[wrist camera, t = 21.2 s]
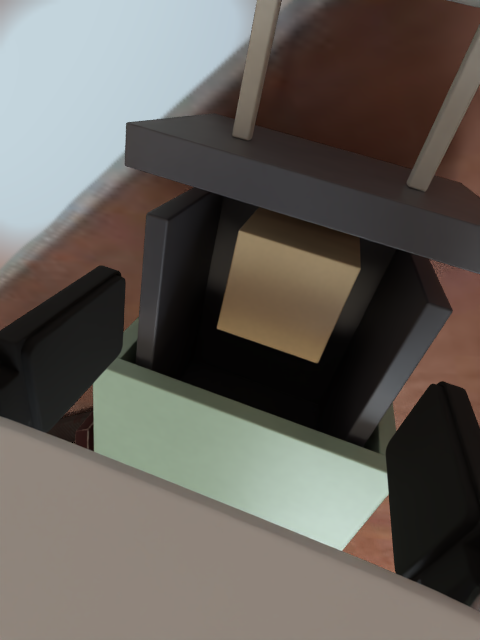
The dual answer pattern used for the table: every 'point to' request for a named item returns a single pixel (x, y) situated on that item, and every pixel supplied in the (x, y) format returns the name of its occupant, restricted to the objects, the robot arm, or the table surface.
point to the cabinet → (239, 451)
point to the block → (288, 283)
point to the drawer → (312, 206)
